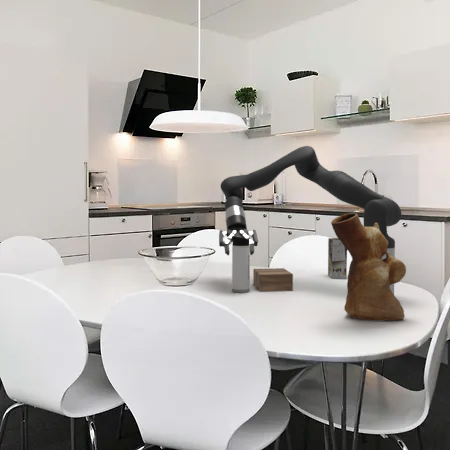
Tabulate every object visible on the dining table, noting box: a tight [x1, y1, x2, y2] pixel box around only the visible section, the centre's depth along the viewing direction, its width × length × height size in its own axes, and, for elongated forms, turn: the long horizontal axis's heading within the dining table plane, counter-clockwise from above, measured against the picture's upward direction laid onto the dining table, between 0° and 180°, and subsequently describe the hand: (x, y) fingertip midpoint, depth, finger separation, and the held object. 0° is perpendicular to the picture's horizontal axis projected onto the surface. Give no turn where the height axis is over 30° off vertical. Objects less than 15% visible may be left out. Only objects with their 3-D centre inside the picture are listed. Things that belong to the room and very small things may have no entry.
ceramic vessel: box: [330, 212, 407, 322], centre depth 147 cm, size 16×22×30 cm
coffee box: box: [327, 237, 348, 279], centre depth 217 cm, size 9×6×16 cm
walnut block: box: [252, 267, 294, 292], centre depth 194 cm, size 14×12×6 cm
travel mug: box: [231, 236, 251, 294], centre depth 186 cm, size 6×7×20 cm
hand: (240, 253), depth 187 cm, fingers open, 8 cm apart
